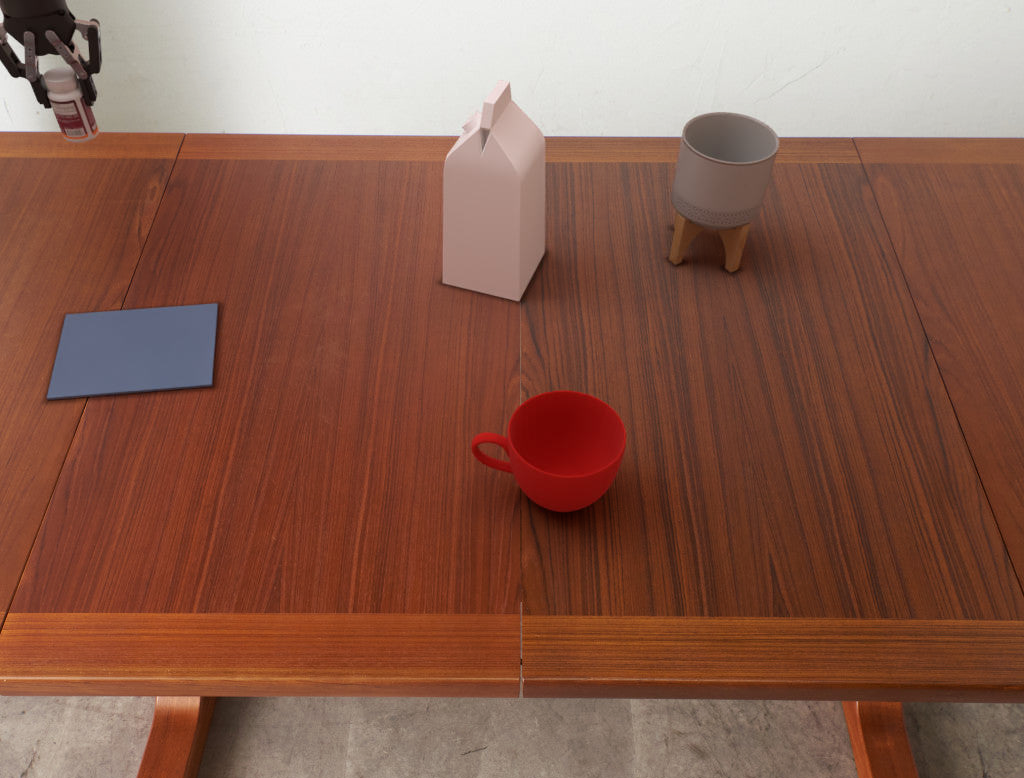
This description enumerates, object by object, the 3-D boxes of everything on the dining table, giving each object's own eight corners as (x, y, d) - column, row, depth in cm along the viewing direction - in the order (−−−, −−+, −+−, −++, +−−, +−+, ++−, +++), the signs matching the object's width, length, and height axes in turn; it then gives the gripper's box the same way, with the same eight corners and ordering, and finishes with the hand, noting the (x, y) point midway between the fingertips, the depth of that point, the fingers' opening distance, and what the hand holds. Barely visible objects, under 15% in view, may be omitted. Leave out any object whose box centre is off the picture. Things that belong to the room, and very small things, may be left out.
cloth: (47, 400, 112) (46, 398, 111) (66, 316, 121) (65, 314, 121) (212, 386, 114) (211, 384, 114) (218, 305, 124) (217, 303, 123)
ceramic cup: (475, 445, 109) (474, 385, 101) (613, 451, 109) (624, 392, 101) (468, 530, 101) (467, 473, 93) (618, 536, 101) (629, 480, 93)
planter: (766, 256, 134) (799, 145, 120) (701, 286, 129) (728, 173, 115) (707, 213, 140) (733, 102, 126) (644, 240, 136) (662, 128, 122)
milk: (518, 301, 126) (526, 124, 105) (442, 283, 128) (435, 106, 108) (544, 252, 133) (556, 78, 113) (471, 235, 135) (470, 61, 115)
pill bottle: (84, 122, 126) (62, 61, 119) (106, 133, 124) (86, 72, 118) (55, 136, 123) (31, 75, 117) (78, 147, 122) (55, 86, 115)
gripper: (85, -50, 110) (128, 87, 124) (-39, -46, 108) (18, 93, 122) (78, -24, 106) (123, 116, 119) (-52, -19, 104) (9, 122, 117)
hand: (69, 103), depth 120 cm, fingers closed on pill bottle, 4 cm apart
